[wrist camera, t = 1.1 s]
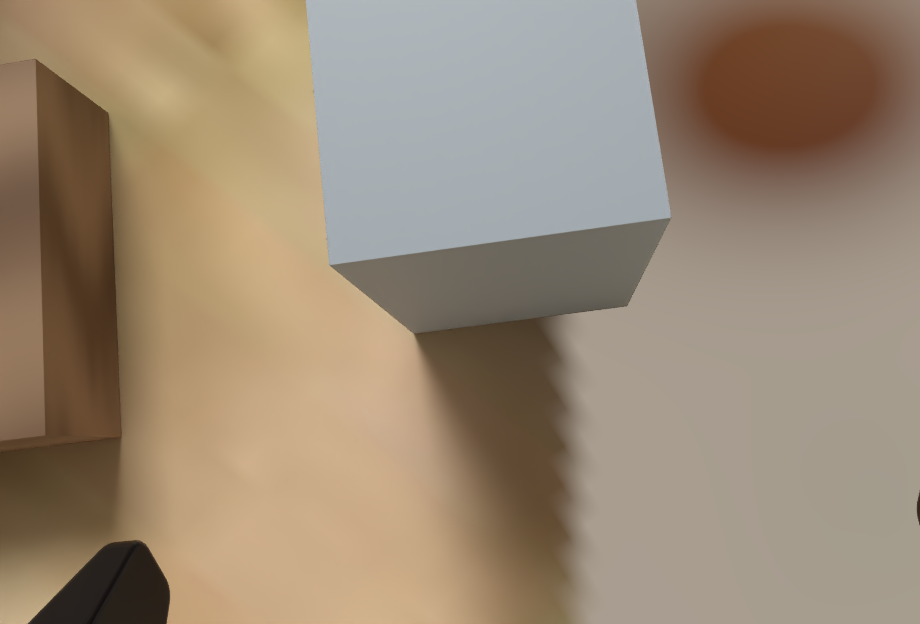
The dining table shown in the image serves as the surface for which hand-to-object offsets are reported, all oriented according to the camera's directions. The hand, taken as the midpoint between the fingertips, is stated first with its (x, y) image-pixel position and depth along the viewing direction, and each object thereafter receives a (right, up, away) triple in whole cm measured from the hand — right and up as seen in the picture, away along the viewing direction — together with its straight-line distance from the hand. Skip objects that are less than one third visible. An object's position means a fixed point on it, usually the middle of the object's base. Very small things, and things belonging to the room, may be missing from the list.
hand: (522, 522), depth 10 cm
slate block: (+1, +5, +14) cm, 15 cm away
